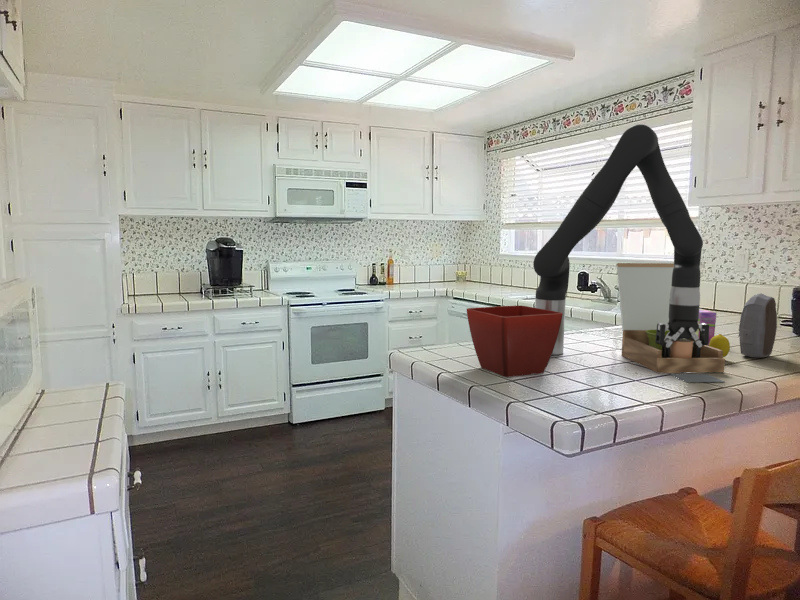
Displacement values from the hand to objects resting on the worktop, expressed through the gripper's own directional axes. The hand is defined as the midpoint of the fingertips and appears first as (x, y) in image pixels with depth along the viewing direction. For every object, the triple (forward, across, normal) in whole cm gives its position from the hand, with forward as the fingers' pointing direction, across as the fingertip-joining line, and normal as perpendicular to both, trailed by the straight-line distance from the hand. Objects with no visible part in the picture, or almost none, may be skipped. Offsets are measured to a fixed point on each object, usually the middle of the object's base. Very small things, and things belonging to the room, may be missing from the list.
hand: (680, 359), depth 153 cm
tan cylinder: (+2, 0, 0) cm, 2 cm away
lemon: (+3, +18, +11) cm, 21 cm away
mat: (+2, -2, -11) cm, 12 cm away
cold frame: (+2, 0, +6) cm, 6 cm away
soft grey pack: (+3, +33, +16) cm, 37 cm away
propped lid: (+3, 0, +22) cm, 22 cm away
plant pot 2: (+3, 0, +10) cm, 10 cm away
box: (+3, +28, +38) cm, 47 cm away
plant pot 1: (+3, -49, -2) cm, 49 cm away
